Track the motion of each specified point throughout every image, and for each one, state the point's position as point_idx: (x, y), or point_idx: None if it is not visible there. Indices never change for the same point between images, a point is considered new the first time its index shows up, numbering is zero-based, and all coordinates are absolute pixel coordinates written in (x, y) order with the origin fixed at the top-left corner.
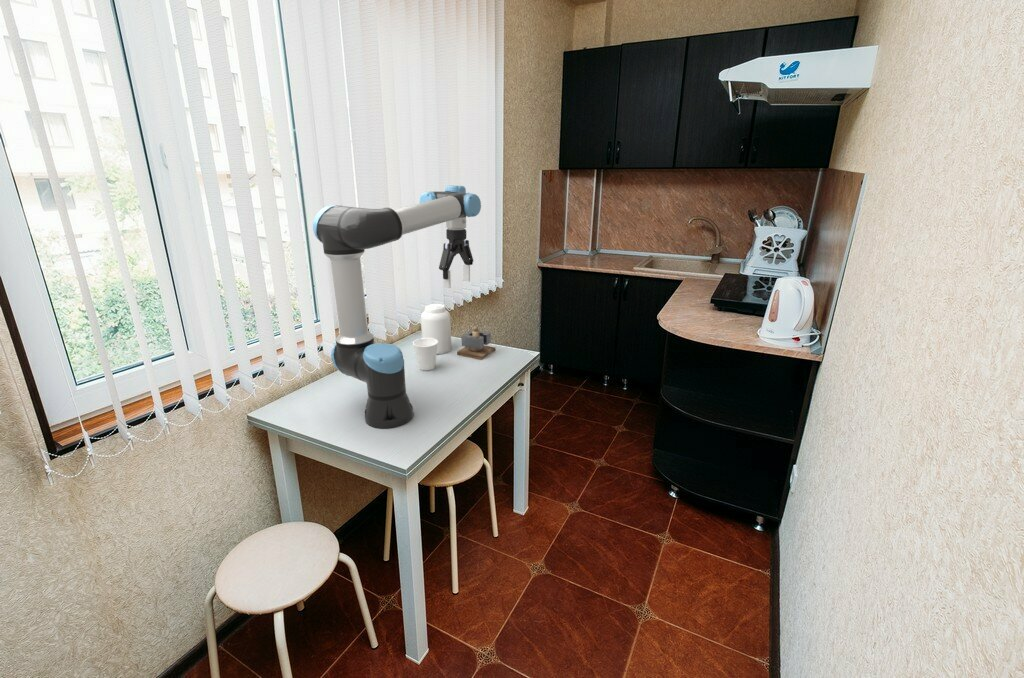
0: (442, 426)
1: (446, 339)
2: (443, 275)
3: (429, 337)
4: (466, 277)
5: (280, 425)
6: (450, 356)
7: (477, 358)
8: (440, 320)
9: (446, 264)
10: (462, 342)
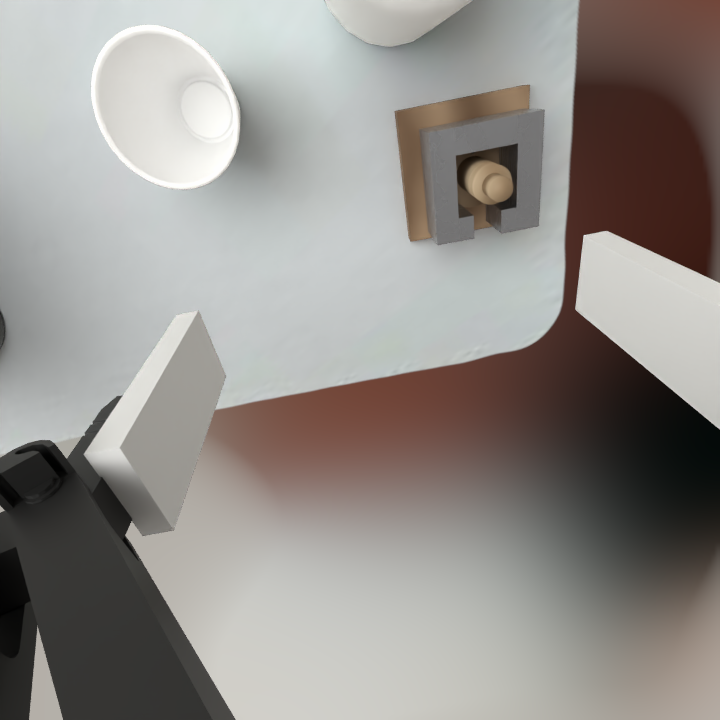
0: (48, 429)
1: (392, 39)
2: (89, 439)
3: None
4: (605, 296)
5: None
6: (364, 98)
7: (407, 222)
8: (370, 5)
9: (12, 669)
10: (422, 136)
